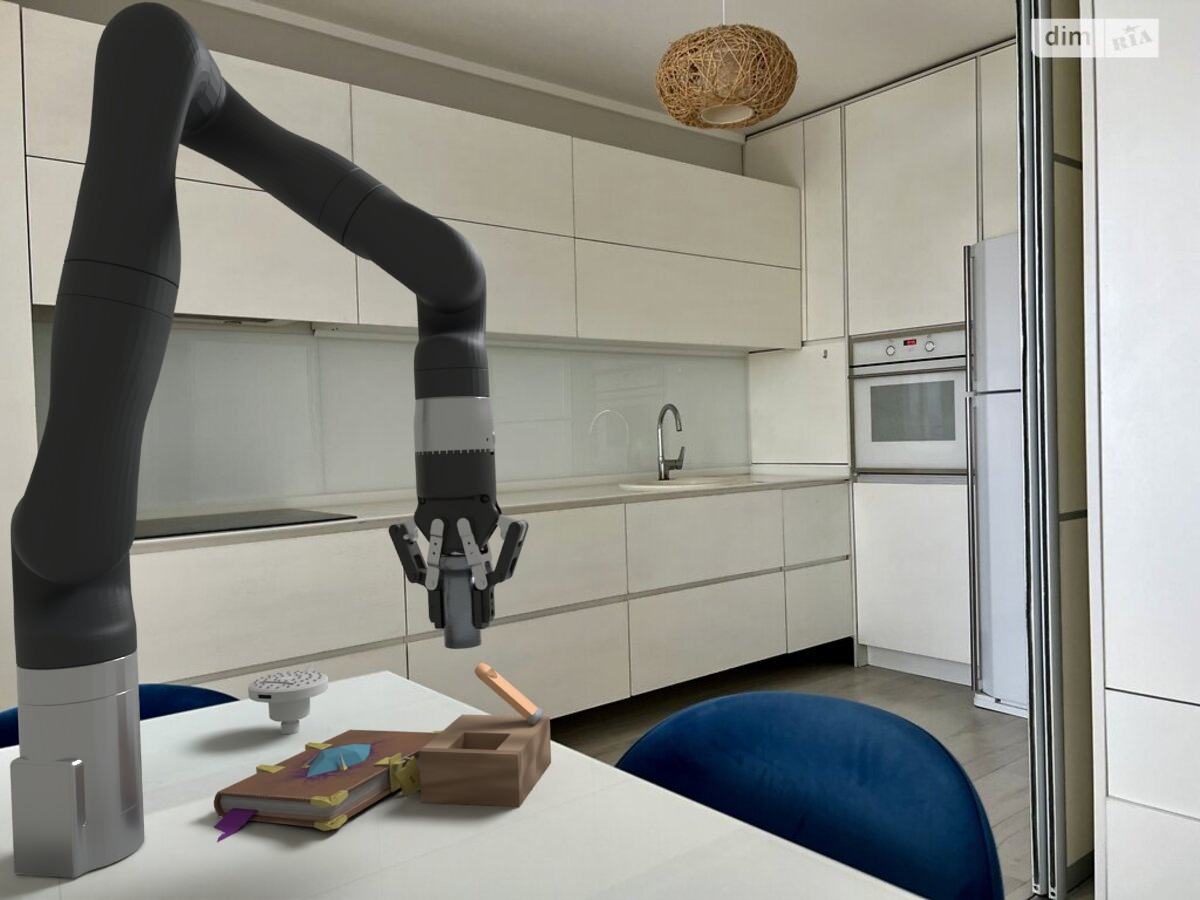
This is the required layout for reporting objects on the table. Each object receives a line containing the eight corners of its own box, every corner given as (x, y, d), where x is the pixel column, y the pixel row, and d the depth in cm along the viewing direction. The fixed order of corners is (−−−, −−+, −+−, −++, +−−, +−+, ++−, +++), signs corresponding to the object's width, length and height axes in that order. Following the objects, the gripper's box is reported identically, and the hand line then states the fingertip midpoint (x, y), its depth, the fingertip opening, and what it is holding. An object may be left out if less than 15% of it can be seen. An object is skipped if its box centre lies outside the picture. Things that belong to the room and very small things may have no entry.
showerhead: (345, 664, 116) (297, 684, 106) (347, 720, 116) (299, 746, 106) (282, 661, 119) (230, 681, 109) (284, 716, 119) (233, 741, 109)
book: (174, 849, 83) (169, 794, 83) (349, 758, 105) (345, 716, 105) (315, 865, 76) (310, 806, 76) (469, 765, 99) (465, 719, 99)
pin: (476, 649, 83) (472, 557, 83) (433, 649, 84) (429, 557, 84) (491, 639, 87) (487, 551, 87) (450, 639, 88) (446, 552, 88)
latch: (532, 727, 95) (538, 719, 95) (470, 673, 96) (475, 665, 96) (539, 718, 97) (545, 711, 97) (478, 666, 99) (484, 659, 99)
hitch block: (519, 806, 86) (517, 754, 86) (421, 802, 88) (419, 751, 88) (551, 762, 98) (549, 716, 98) (463, 759, 100) (461, 714, 100)
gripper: (367, 450, 84) (376, 636, 84) (513, 444, 81) (521, 636, 81) (402, 449, 91) (410, 619, 91) (537, 443, 88) (545, 619, 88)
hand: (462, 626), depth 86 cm, fingers closed on pin, 3 cm apart
